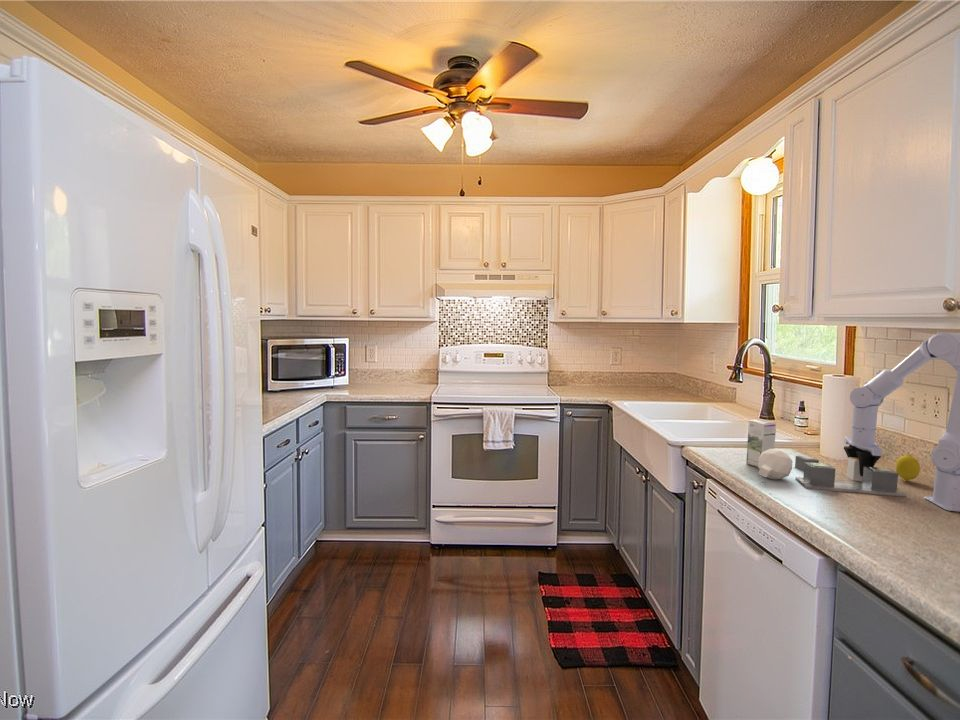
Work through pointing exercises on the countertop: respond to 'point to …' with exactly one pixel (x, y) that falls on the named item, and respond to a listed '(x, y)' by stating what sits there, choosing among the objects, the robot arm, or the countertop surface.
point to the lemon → (907, 467)
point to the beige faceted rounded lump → (774, 464)
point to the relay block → (801, 459)
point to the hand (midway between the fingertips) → (859, 473)
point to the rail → (873, 481)
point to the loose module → (854, 469)
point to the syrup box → (759, 439)
